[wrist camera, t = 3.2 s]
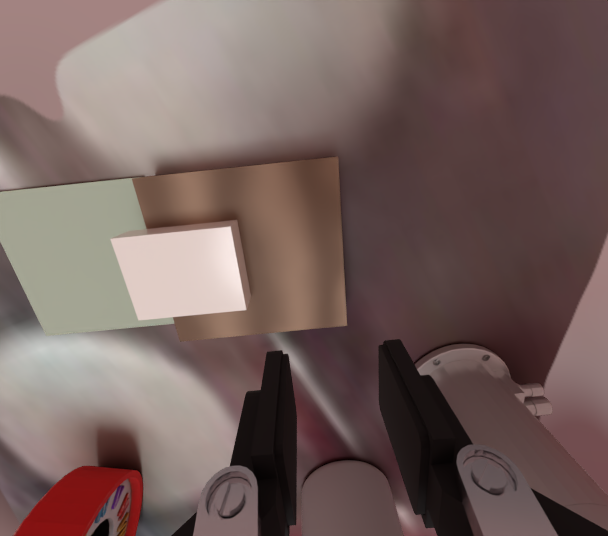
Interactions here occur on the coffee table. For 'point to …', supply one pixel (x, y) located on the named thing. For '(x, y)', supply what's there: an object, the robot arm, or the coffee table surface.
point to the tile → (184, 269)
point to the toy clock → (88, 505)
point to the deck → (263, 240)
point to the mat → (73, 253)
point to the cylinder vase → (348, 502)
